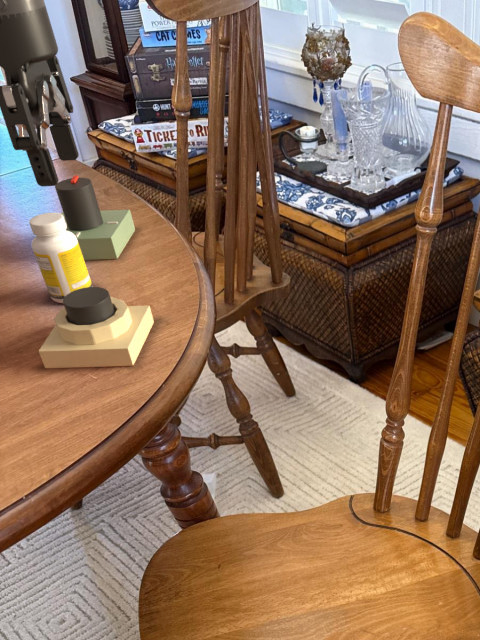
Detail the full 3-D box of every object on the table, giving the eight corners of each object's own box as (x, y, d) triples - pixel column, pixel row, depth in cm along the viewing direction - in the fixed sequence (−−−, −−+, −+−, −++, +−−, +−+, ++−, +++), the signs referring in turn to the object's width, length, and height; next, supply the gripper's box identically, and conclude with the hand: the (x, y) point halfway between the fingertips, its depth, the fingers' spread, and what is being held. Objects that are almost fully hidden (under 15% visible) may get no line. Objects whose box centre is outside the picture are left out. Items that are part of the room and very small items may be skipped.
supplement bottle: (96, 283, 103) (72, 208, 96) (91, 302, 99) (66, 225, 92) (54, 287, 102) (27, 212, 96) (47, 306, 98) (18, 229, 92)
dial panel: (46, 261, 108) (38, 239, 106) (68, 232, 116) (61, 210, 114) (117, 258, 108) (110, 236, 106) (135, 229, 115) (129, 208, 113)
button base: (45, 368, 87) (32, 336, 85) (72, 324, 95) (61, 293, 92) (133, 365, 87) (123, 333, 84) (154, 322, 94) (145, 291, 92)
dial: (99, 229, 108) (86, 186, 104) (64, 232, 108) (50, 188, 104) (105, 216, 112) (93, 173, 108) (72, 218, 111) (58, 176, 107)
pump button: (63, 327, 87) (56, 308, 85) (77, 306, 90) (70, 287, 89) (108, 326, 87) (101, 306, 85) (119, 305, 90) (114, 285, 89)
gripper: (-7, -6, 84) (45, 153, 95) (-59, 21, 74) (7, 196, 85) (62, -10, 84) (106, 150, 95) (20, 17, 74) (75, 192, 85)
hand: (59, 171), depth 90 cm, fingers open, 8 cm apart
